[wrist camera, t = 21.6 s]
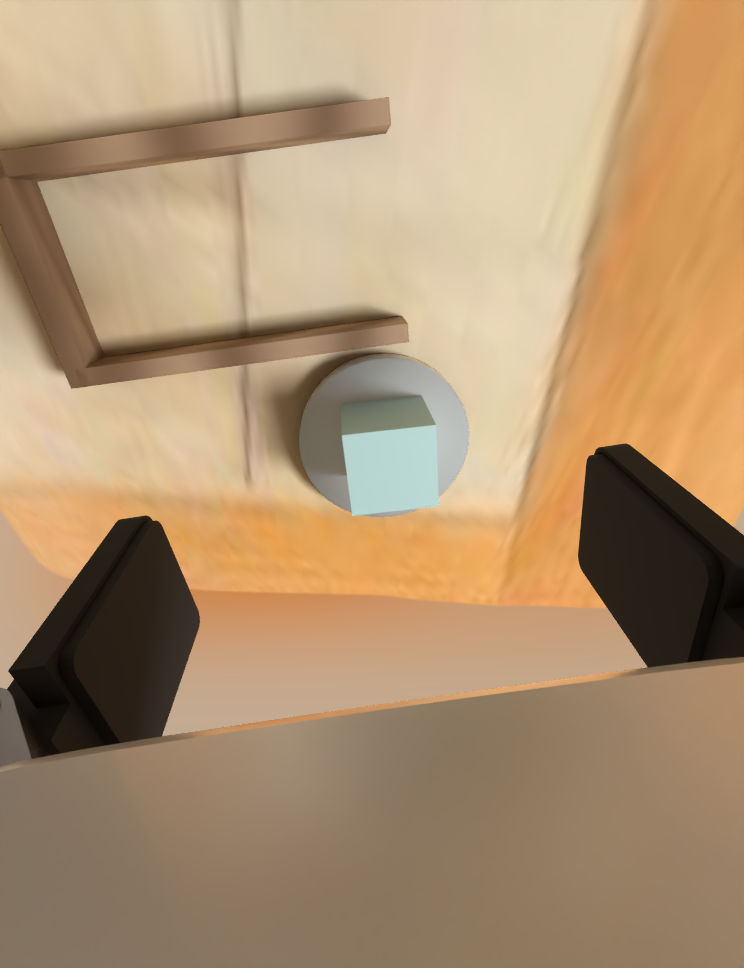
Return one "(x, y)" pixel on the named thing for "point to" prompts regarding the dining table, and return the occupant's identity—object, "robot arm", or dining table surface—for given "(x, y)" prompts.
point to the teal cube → (390, 455)
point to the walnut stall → (25, 218)
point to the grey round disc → (372, 383)
